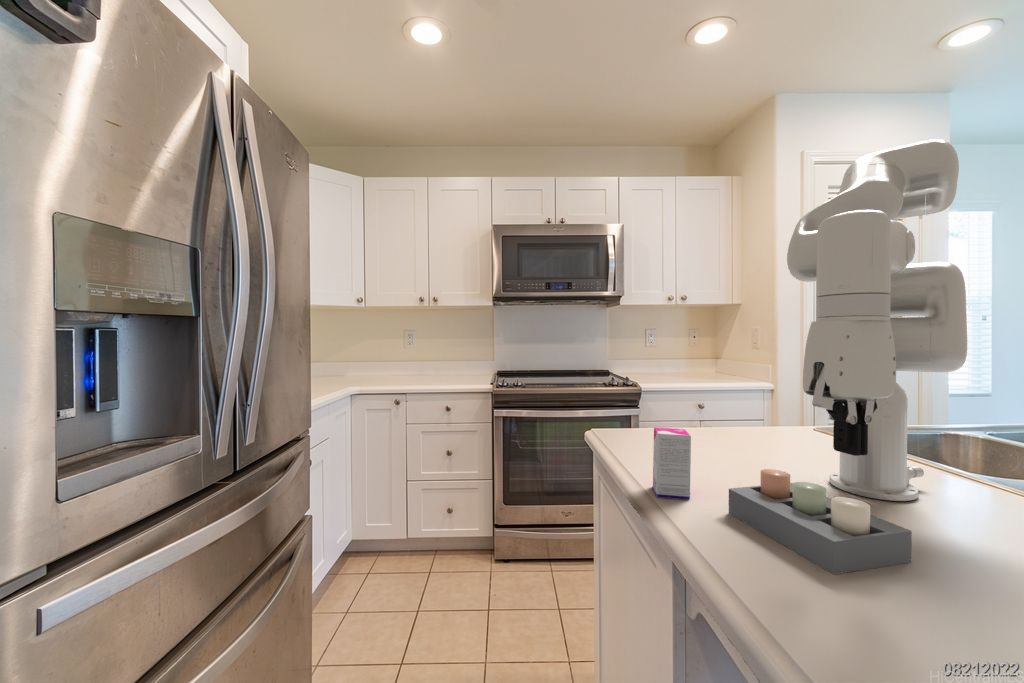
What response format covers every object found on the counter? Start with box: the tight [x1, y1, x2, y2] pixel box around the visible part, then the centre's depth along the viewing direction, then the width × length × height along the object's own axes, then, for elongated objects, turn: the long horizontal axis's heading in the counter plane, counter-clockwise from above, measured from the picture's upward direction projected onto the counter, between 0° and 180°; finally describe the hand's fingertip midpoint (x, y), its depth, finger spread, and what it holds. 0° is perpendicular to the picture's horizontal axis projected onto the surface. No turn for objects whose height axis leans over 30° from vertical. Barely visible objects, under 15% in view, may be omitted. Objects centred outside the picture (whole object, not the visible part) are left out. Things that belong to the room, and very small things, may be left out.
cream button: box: [831, 496, 871, 536], centre depth 56 cm, size 4×4×4 cm
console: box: [728, 482, 913, 575], centre depth 62 cm, size 12×18×4 cm, turn 12°
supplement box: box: [652, 427, 692, 500], centre depth 78 cm, size 6×6×12 cm
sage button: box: [792, 481, 827, 516], centre depth 62 cm, size 4×4×4 cm
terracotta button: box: [760, 468, 791, 500], centre depth 67 cm, size 4×4×4 cm
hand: (850, 452), depth 55 cm, fingers closed
